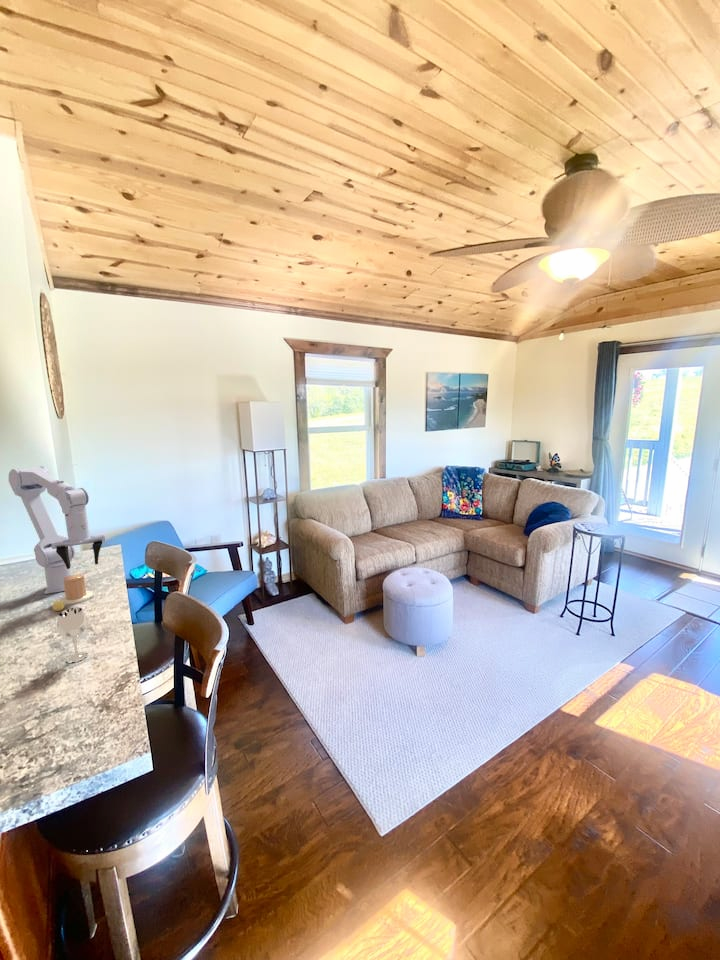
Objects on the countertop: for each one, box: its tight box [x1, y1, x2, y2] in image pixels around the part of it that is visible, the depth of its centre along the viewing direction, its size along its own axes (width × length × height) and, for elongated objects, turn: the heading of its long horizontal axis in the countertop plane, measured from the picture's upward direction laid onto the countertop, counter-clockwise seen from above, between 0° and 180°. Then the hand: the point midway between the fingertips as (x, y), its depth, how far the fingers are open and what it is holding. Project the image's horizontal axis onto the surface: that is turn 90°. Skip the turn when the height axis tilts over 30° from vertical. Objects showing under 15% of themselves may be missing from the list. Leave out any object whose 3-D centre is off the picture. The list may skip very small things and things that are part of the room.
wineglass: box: [56, 606, 89, 661], centre depth 96 cm, size 6×6×12 cm
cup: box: [63, 573, 87, 600], centre depth 130 cm, size 6×6×7 cm
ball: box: [52, 600, 66, 612], centre depth 123 cm, size 3×3×3 cm
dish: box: [59, 590, 94, 606], centre depth 131 cm, size 9×9×1 cm
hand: (82, 565), depth 132 cm, fingers open, 7 cm apart
